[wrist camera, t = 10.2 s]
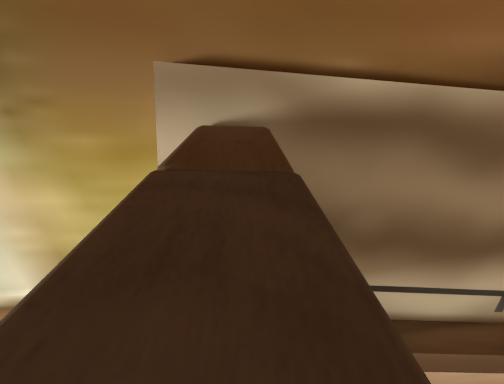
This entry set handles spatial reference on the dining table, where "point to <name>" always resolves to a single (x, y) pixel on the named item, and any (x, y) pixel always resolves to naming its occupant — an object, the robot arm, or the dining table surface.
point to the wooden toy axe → (208, 285)
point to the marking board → (382, 188)
